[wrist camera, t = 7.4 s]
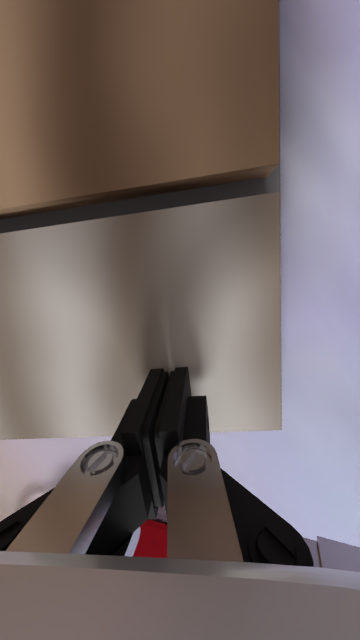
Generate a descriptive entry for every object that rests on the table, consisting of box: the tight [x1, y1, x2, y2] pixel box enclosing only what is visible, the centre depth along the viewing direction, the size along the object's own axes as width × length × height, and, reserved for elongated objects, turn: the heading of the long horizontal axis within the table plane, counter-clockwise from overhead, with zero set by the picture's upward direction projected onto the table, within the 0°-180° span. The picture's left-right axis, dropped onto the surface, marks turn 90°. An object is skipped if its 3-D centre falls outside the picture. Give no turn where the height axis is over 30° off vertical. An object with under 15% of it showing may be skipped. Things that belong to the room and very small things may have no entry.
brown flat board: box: [0, 0, 281, 285], centre depth 11 cm, size 25×21×1 cm
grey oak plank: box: [0, 192, 282, 440], centre depth 12 cm, size 24×10×2 cm, turn 97°
